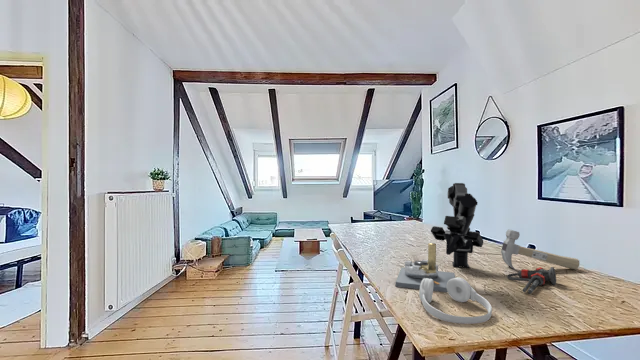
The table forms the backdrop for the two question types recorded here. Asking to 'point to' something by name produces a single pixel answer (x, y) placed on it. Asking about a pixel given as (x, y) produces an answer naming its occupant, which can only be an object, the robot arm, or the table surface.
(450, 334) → the table surface
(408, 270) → the brass lever assembly
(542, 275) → the valve
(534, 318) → the table surface
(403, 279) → the housing plate
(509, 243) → the hammer
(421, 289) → the headphones
